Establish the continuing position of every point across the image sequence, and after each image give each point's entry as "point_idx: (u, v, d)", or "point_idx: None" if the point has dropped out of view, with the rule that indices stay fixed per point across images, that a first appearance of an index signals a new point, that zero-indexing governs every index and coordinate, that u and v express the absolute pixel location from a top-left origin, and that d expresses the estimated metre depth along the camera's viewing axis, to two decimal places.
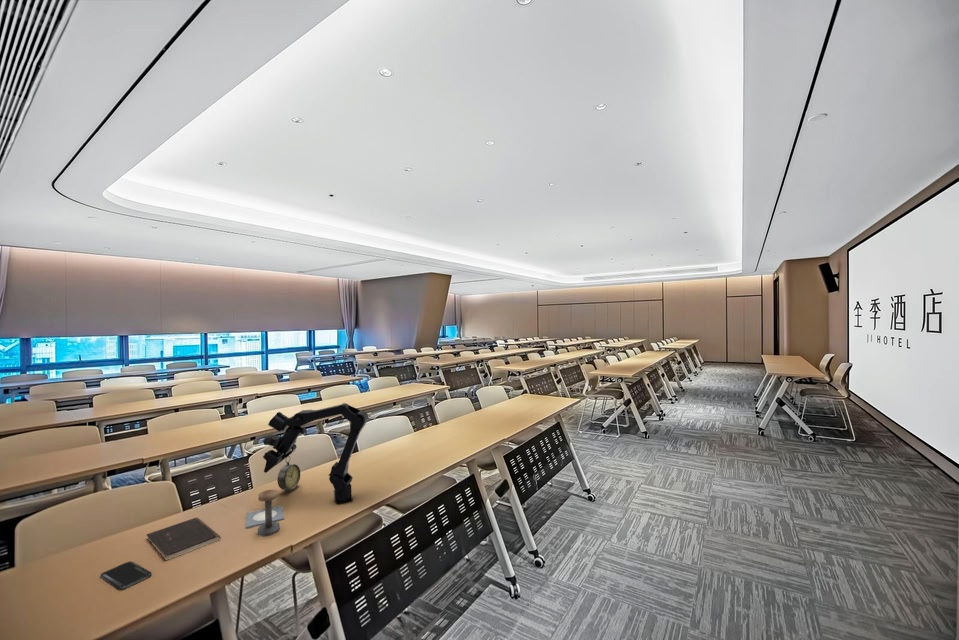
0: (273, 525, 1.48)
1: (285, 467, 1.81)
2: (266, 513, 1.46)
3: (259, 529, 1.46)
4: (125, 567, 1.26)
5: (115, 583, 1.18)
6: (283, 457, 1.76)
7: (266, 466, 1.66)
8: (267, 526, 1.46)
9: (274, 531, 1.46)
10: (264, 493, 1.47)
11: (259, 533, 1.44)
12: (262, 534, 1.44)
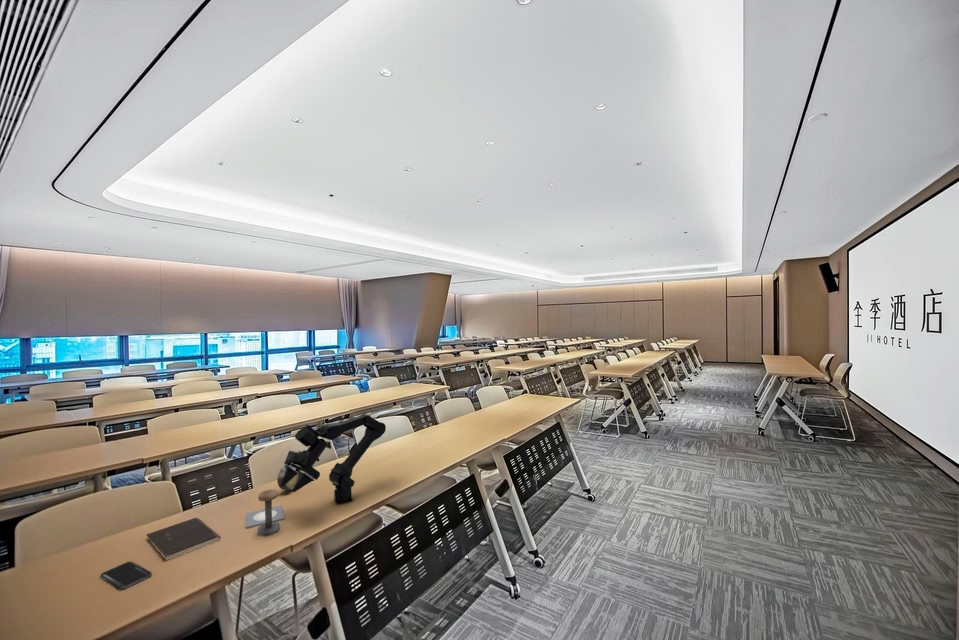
0: (273, 525, 1.48)
1: None
2: (266, 513, 1.46)
3: (259, 529, 1.46)
4: (125, 567, 1.26)
5: (115, 583, 1.18)
6: (291, 477, 1.59)
7: (298, 484, 1.51)
8: (267, 526, 1.46)
9: (274, 531, 1.46)
10: (264, 493, 1.47)
11: (259, 533, 1.44)
12: (262, 534, 1.44)
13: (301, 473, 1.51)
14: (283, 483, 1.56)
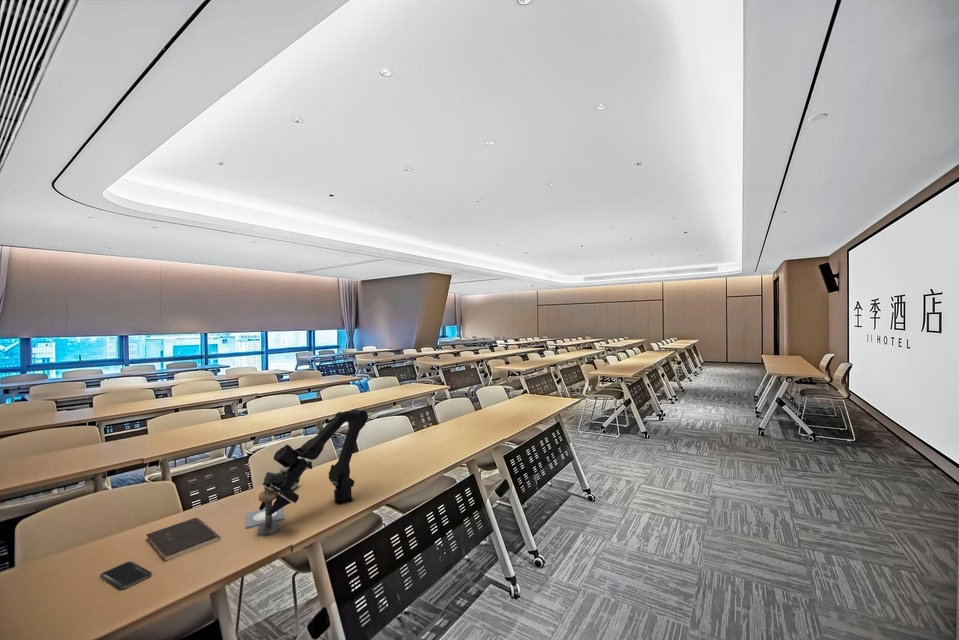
0: (273, 525, 1.48)
1: None
2: (266, 513, 1.46)
3: (259, 529, 1.45)
4: (124, 567, 1.26)
5: (115, 583, 1.18)
6: None
7: (274, 507, 1.45)
8: (267, 526, 1.46)
9: (274, 531, 1.46)
10: (265, 493, 1.47)
11: (259, 533, 1.44)
12: (262, 534, 1.44)
13: (277, 495, 1.45)
14: (262, 507, 1.49)
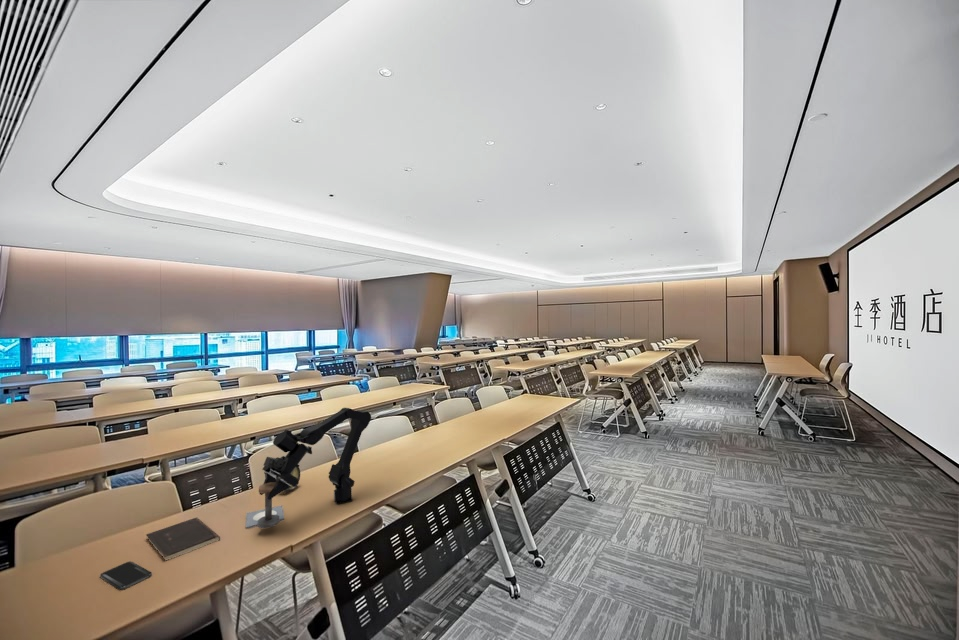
0: (273, 518, 1.48)
1: None
2: (266, 505, 1.47)
3: (259, 521, 1.46)
4: (124, 567, 1.26)
5: (115, 583, 1.18)
6: None
7: (274, 491, 1.45)
8: (267, 518, 1.46)
9: (274, 523, 1.46)
10: (265, 485, 1.48)
11: (259, 525, 1.44)
12: (262, 526, 1.44)
13: (277, 479, 1.46)
14: None
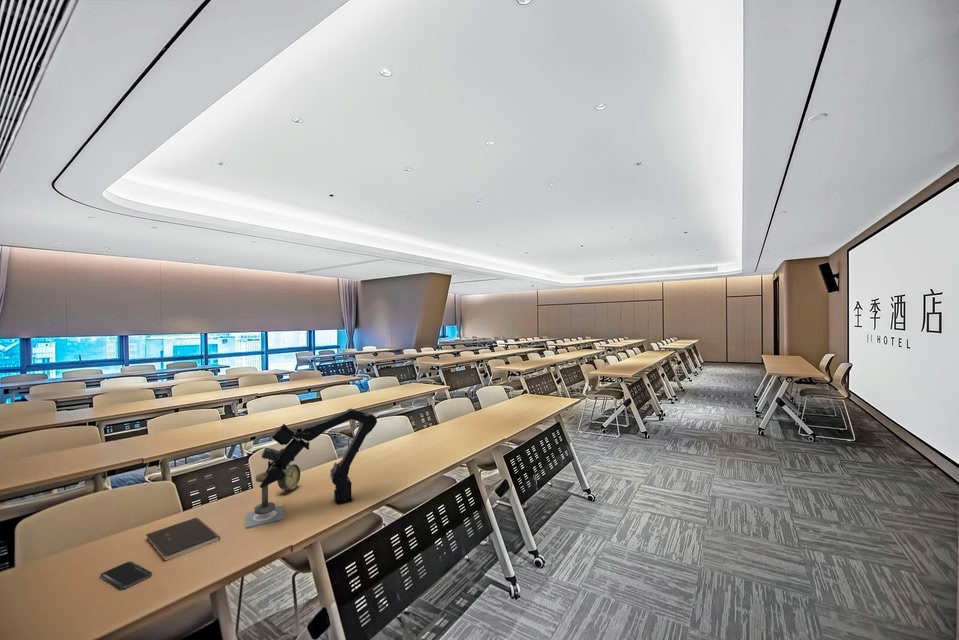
0: (269, 506, 1.58)
1: None
2: (262, 493, 1.57)
3: (256, 507, 1.57)
4: (124, 567, 1.26)
5: (115, 583, 1.18)
6: None
7: (265, 481, 1.55)
8: (262, 505, 1.57)
9: (266, 511, 1.55)
10: (262, 474, 1.59)
11: None
12: (256, 512, 1.55)
13: (267, 470, 1.55)
14: None
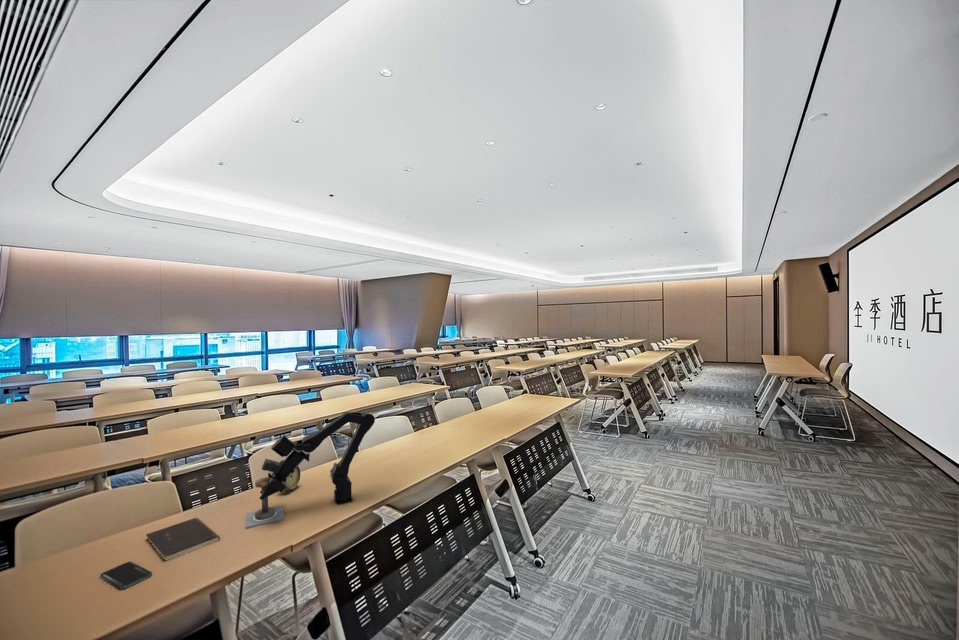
0: (269, 511, 1.58)
1: None
2: None
3: (256, 512, 1.57)
4: (124, 567, 1.26)
5: (115, 583, 1.18)
6: None
7: (265, 492, 1.55)
8: (262, 511, 1.57)
9: (266, 517, 1.55)
10: (262, 480, 1.59)
11: (255, 516, 1.56)
12: (256, 517, 1.55)
13: None
14: None
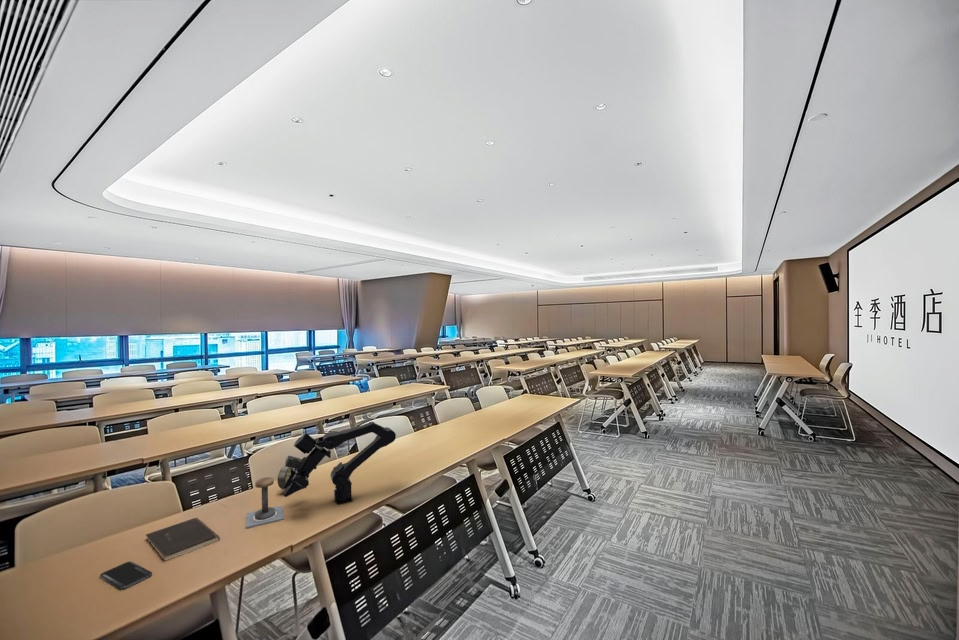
0: (269, 511, 1.58)
1: (285, 467, 1.81)
2: (262, 499, 1.57)
3: (256, 512, 1.57)
4: (124, 567, 1.26)
5: (115, 583, 1.18)
6: None
7: (289, 490, 1.57)
8: (262, 511, 1.57)
9: (266, 517, 1.55)
10: (262, 480, 1.58)
11: (255, 516, 1.56)
12: (256, 517, 1.55)
13: (291, 480, 1.57)
14: (286, 485, 1.66)
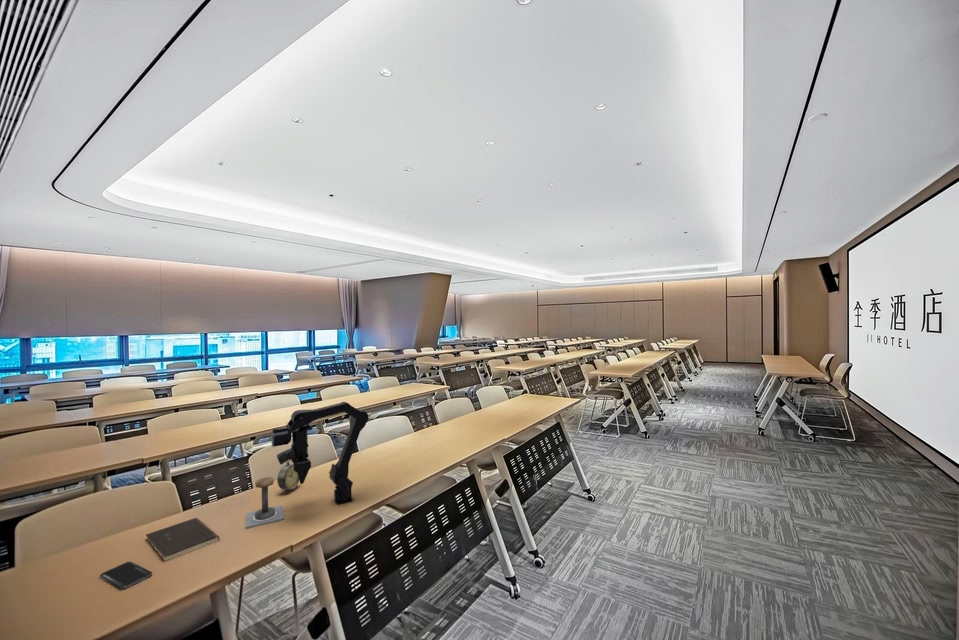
0: (269, 511, 1.58)
1: (285, 467, 1.81)
2: (262, 498, 1.57)
3: (256, 512, 1.57)
4: (124, 567, 1.26)
5: (115, 583, 1.18)
6: None
7: (300, 477, 1.57)
8: (262, 511, 1.57)
9: (266, 517, 1.55)
10: (262, 480, 1.59)
11: (255, 516, 1.56)
12: (256, 517, 1.55)
13: None
14: None
